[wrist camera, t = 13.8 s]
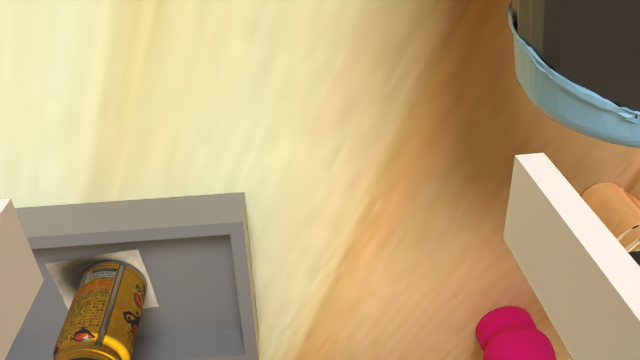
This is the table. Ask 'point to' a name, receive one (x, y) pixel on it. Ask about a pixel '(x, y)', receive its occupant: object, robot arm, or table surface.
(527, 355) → the pepper mill
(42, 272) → the tray
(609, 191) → the cup with straw
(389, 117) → the table surface
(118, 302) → the condiment
